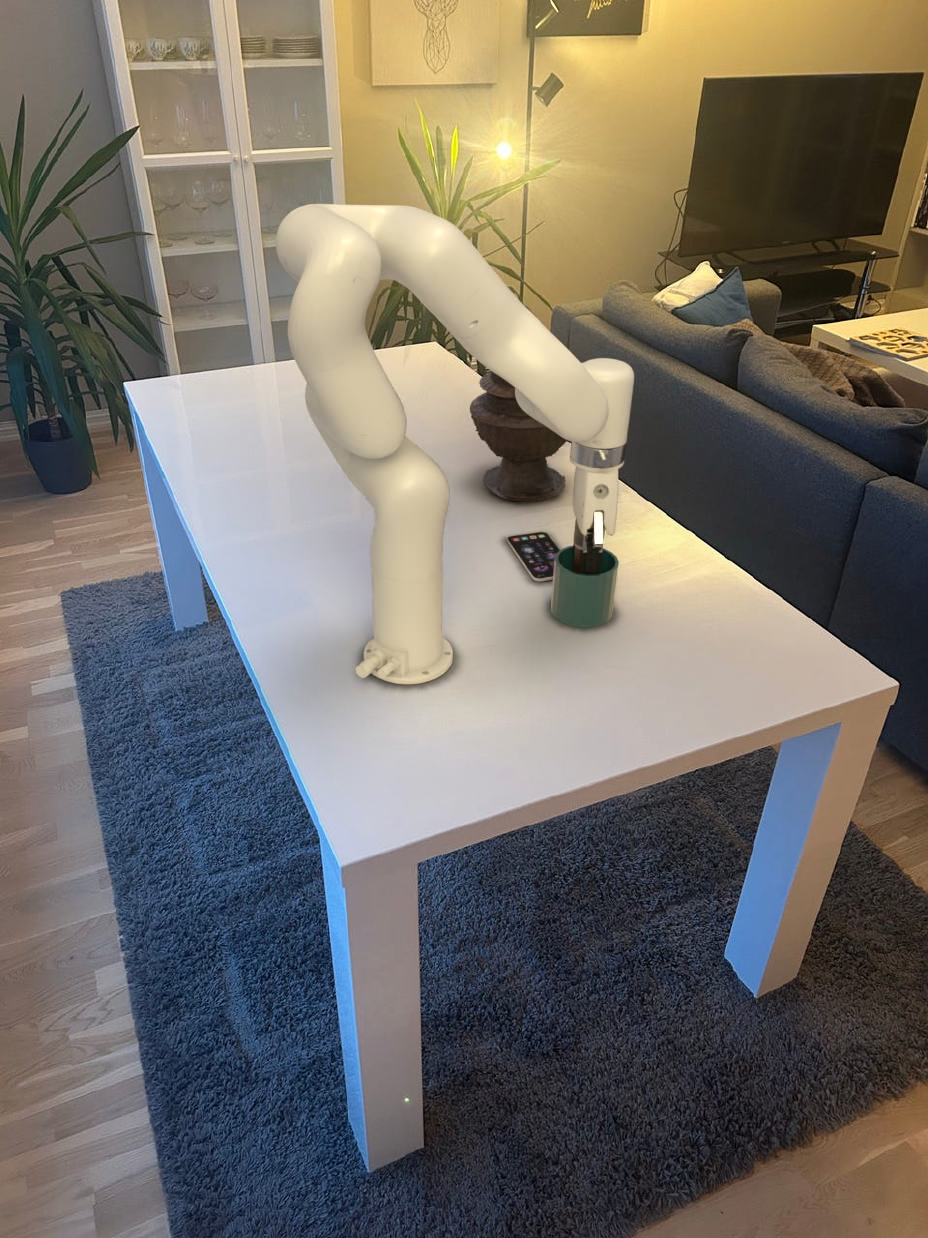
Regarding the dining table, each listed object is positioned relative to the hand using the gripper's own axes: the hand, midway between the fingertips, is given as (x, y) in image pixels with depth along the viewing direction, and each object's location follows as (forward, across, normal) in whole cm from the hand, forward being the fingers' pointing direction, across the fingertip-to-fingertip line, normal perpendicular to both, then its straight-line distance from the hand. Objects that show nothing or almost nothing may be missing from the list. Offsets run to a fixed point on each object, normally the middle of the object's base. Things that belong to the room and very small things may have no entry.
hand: (585, 564), depth 142 cm
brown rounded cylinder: (+2, 0, 0) cm, 2 cm away
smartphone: (+8, +16, +4) cm, 19 cm away
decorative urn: (+8, +44, +5) cm, 45 cm away
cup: (+8, 0, 0) cm, 8 cm away
